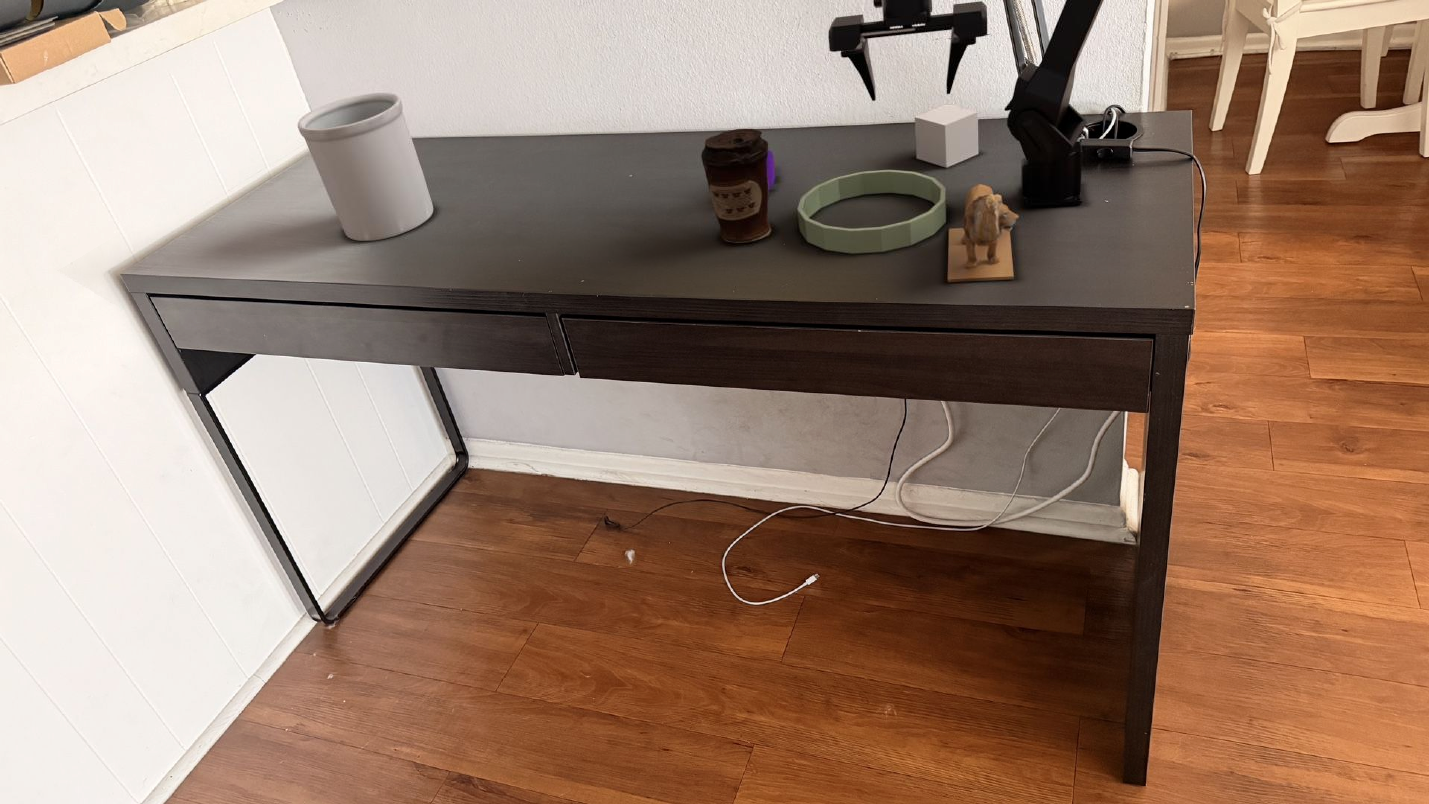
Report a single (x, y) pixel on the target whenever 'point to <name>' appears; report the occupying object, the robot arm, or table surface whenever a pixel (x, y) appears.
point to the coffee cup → (738, 183)
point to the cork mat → (978, 259)
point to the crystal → (770, 169)
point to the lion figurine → (985, 222)
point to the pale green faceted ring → (877, 236)
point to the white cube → (946, 135)
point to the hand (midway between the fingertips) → (910, 96)
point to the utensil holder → (368, 165)
